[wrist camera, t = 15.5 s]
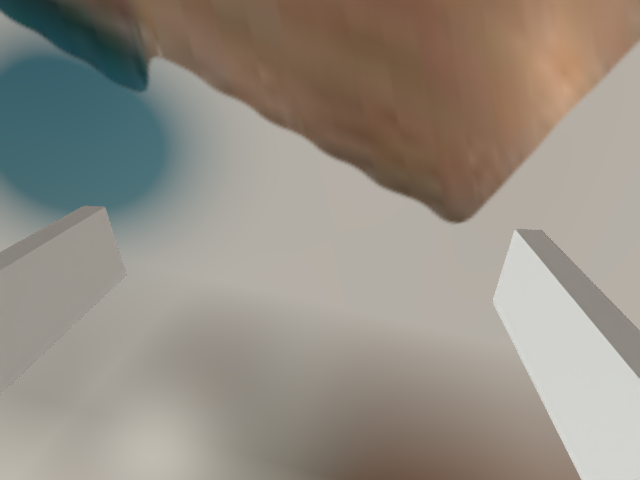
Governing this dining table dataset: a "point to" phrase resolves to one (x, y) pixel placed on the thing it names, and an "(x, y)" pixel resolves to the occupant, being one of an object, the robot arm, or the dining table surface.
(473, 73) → the dining table surface
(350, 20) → the dining table surface
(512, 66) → the dining table surface
